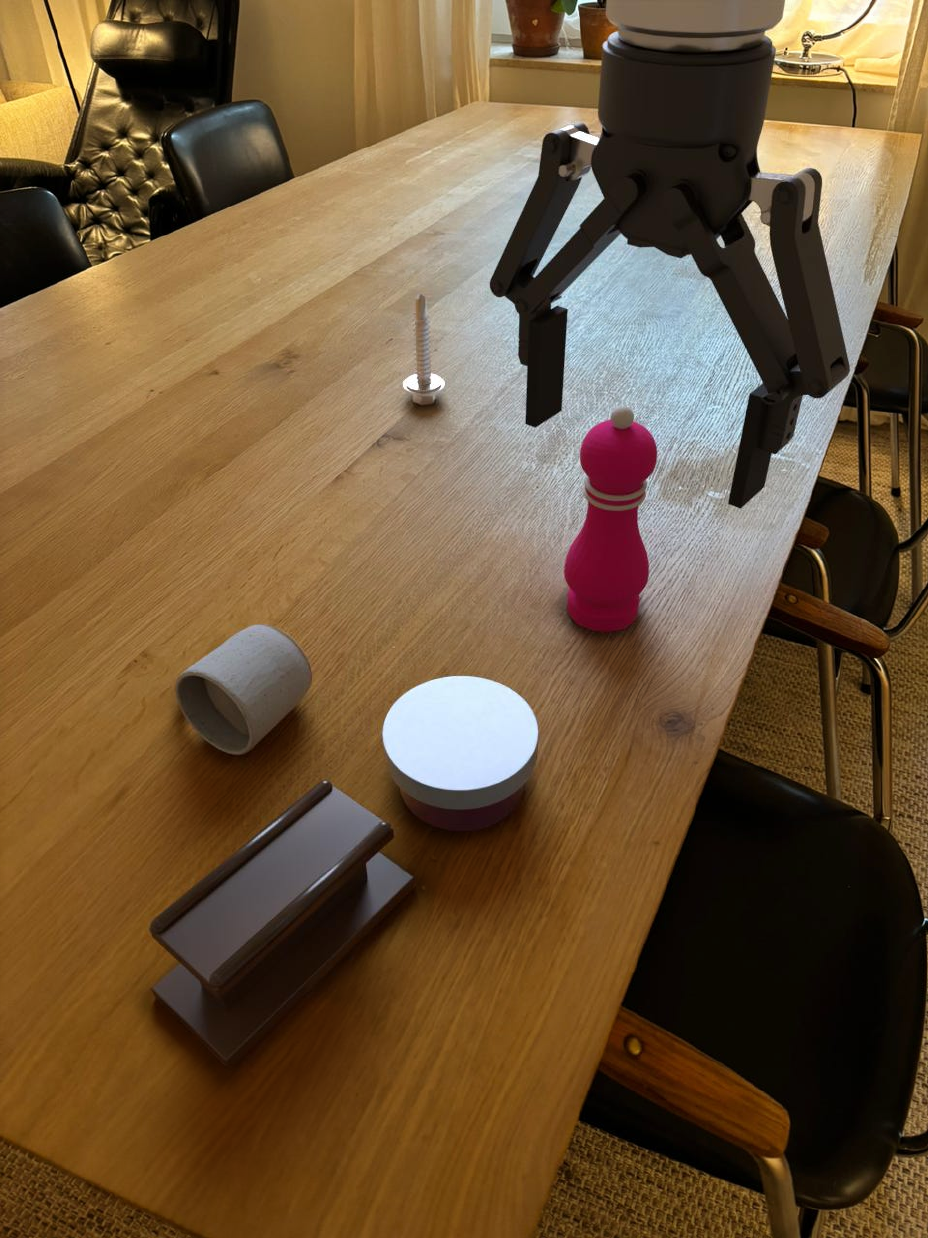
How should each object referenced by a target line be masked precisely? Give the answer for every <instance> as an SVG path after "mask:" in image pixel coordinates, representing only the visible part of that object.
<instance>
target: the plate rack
mask: <svg viewBox="0 0 928 1238" xmlns="http://www.w3.org/2000/svg"><path fill="white" fill-rule="evenodd" d="M394 838H395V832H394V827H392V825H391V824H390V823H389V822H388V821H385V820H383V819H382V818H379V817H378V816H376V815H375V814H374V813H373V812H371V811H369V810H368V809H367V808H366V807H364V806H363V805H361V804H360V803H358V802H357V801H355V800H354V799H353V798H351V797H350V796H348V795H347V794H346V793H344V792H343V791H341V790H340V789H338V788H337V787H335V786H334V785H333V783H332V782H331V781H330V780H327V779H324V780H321V781H319V782H318V783H317V784H315V785H314V786H313V787H312V788H310V789H309V790H308V791H307V792H306V793H304V794H303V795H302V796H300V798H299V799H297V800H296V801H295V802H294V803H293V804H291V805H289V806H288V808H287V809H285V810H284V811H283V812H282V813H280V814H279V815H278V816H277V817H275V818H274V819H273V820H272V821H271V822H269V823H268V824H267V825H266V826H265V827H263V828H262V829H261V830H260V831H258V832H257V833H256V834H255V835H253V837H251V838H250V839H248V841H247V842H246V843H244V844H243V845H241V846H240V847H239V848H238V849H237V850H235V851H234V852H233V853H232V854H230V856H229V857H227V858H226V859H225V860H223V862H221V863H219V865H218V866H216V867H215V868H214V869H213V870H211V872H209V873H207V874H206V875H205V876H204V877H203V878H201V880H199V881H198V882H196V884H195V885H193V886H192V887H191V888H190V889H188V890H187V891H186V892H184V894H182V895H181V896H180V897H179V898H178V899H177V900H175V901H174V902H172V903H171V904H170V905H169V906H168V907H167V908H166V909H164V910H163V911H161V912H160V913H159V914H158V915H157V916H155V917H154V919H152V920H151V923H150V927H149V928H148V929H149V932H150V934H151V937H152V939H154V940H155V941H156V942H157V943H158V944H159V945H160V946H161V947H162V948H163V949H164V950H166V952H168V953H169V955H171V956H172V957H173V958H174V959H175V960H176V961H177V962H178V964H177V965H175V966H174V967H173V968H172V969H171V970H170V971H169V972H168V973H167V974H165V975H164V976H163V977H162V978H161V979H159V981H157V982H156V983H155V984H154V985H153V986H152V987H151V992H152V994H153V997H154V998H155V1000H156V1001H157V1002H158V1003H159V1004H160V1005H161V1006H162V1007H164V1009H165V1010H166V1011H167V1012H168V1013H169V1014H171V1016H172V1017H174V1019H175V1020H177V1021H178V1022H179V1023H180V1024H181V1025H182V1026H183V1027H184V1029H186V1031H188V1032H189V1033H190V1034H191V1035H192V1036H193V1037H194V1038H195V1040H197V1041H198V1042H199V1043H200V1044H201V1045H202V1046H203V1047H204V1048H205V1049H206V1050H207V1051H208V1052H209V1053H210V1054H211V1055H212V1056H214V1058H215V1059H216V1060H217V1061H219V1062H220V1063H221V1064H222V1066H223V1067H225V1068H226V1069H227V1070H228V1071H229V1070H231V1069H232V1068H233V1067H234V1066H235V1065H236V1064H237V1063H238V1062H239V1061H240V1060H241V1059H242V1058H243V1057H245V1056H246V1054H248V1052H250V1050H251V1049H252V1048H253V1047H255V1046H256V1045H257V1043H259V1041H261V1039H263V1038H264V1037H265V1036H266V1035H267V1033H269V1032H270V1031H271V1030H272V1029H273V1028H274V1027H275V1026H276V1025H277V1024H278V1023H279V1022H280V1021H281V1020H282V1019H283V1018H284V1017H285V1016H286V1015H288V1013H289V1012H290V1011H291V1010H292V1009H293V1008H294V1007H295V1006H297V1004H298V1003H299V1002H300V1001H301V1000H302V999H303V998H304V997H305V996H306V995H307V994H308V993H309V992H311V990H312V989H313V988H315V986H316V985H318V983H319V982H320V981H322V979H323V978H325V977H326V975H327V974H329V972H331V971H332V970H333V969H334V968H335V967H336V966H337V965H338V964H339V963H340V962H341V961H342V960H343V959H344V958H345V957H346V956H347V955H348V954H349V953H350V952H351V951H352V950H353V949H354V948H355V947H356V946H357V945H358V944H359V943H360V942H361V941H362V940H363V939H364V938H365V937H366V936H367V935H368V934H369V933H370V932H371V931H372V930H374V928H375V927H377V925H378V924H379V923H380V922H381V921H382V920H383V919H384V918H385V917H386V916H388V915H389V913H390V912H391V911H393V910H394V909H395V907H397V906H398V904H399V903H401V902H402V901H403V900H404V899H405V897H407V896H408V895H409V894H410V893H411V892H412V891H413V890H414V889H415V877H414V875H412V874H411V873H409V872H408V871H406V870H405V869H403V868H402V867H401V866H399V865H398V864H397V863H395V862H394V861H393V860H391V859H389V857H387V856H386V855H384V854H383V853H382V852H381V850H383V849H384V848H385V847H386V846H387V845H388V844H389V843H390V842H391V841H393V840H394Z"/></svg>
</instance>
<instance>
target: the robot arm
mask: <svg viewBox="0 0 928 1238" xmlns="http://www.w3.org/2000/svg"><path fill="white" fill-rule="evenodd" d="M785 3H786V0H606V3H605V17H606V18H607V19H608V21H609V23H610V24H612V25H613V26H616V27H617V30H616V31H614V32H613V33H611V34H609V36H608V38H607V40H606V41H604V42H603V43H602V48H601V49H602V50H601V61H600V62H601V63H600V75H599V77H600V78H599V88H598V89H599V90H598V91H599V92H598V103H597V118H598V121H599V124H600V125H601V132H600V135H599V137H597V136H594V135H591V134H590V130H589V127H588V126H587V125H586V124H585V123H584V122H580V121H577V122H574V123H572V124H569V125H566V126H564V127H561V128H559V129H556V130H553V131H550V132H548V133H546V134H545V135H544V137H543V140H542V144H541V151H540V159H539V166H538V167H539V168H538V175H537V177H536V180H535V181H534V185H533V186H532V189H531V191H530V193H529V195H528V197H527V200H526V202H525V204H524V205H523V208H522V210H521V213H520V215H519V217H518V219H517V221H516V224H515V226H514V228H513V230H512V232H511V234H510V236H509V238H508V241H507V243H506V245H505V247H504V249H503V251H502V253H501V256H500V258H499V260H498V262H497V265H496V267H495V269H494V271H493V273H492V275H491V277H490V280H489V289H490V292H491V293H492V294H493V296H495V297H496V298H502V297H505V298H506V299H507V300H509V301H510V302H511V303H512V304H513V305H514V309H515V311H516V312H517V314H518V347H517V349H518V350H517V356H518V360H519V363H520V365H522V366H525V367H526V368H527V369H526V393H525V420H524V421H525V423H524V424H525V425H527V426H530V427H531V428H534V429H537V427H539V426H541V425H543V424H544V423H545V422H547V421H548V420H550V419H551V418H553V417H555V416H556V415H557V414H559V413H560V412H562V410H563V395H564V394H563V393H564V377H565V363H566V362H565V361H566V346H567V344H566V343H567V328H568V314H569V309H568V308H566V307H563V306H560V305H556V306H554V307H552V304H553V303H555V302H556V301H557V300H560V299H562V298H563V297H562V294H563V293H564V292H565V291H566V290H567V289H568V288H569V287H570V286H571V285H572V284H573V283H574V282H575V281H576V280H577V279H578V278H579V277H580V276H581V275H582V274H583V273H584V272H585V271H586V270H587V268H589V267H590V266H591V265H592V264H593V263H594V262H595V261H596V260H597V259H598V257H600V256H601V254H603V252H604V251H606V249H607V248H608V247H609V246H610V245H611V244H612V243H613V242H614V241H615V240H616V239H617V238H618V237H619V236H620V235H622V236H623V237H624V238H625V239H626V240H627V241H626V245H627V246H632V247H637V248H641V249H643V248H655V249H657V250H659V251H660V252H662V253H664V254H665V255H666V256H671V257H674V258H678V259H683V258H685V257H687V256H689V255H691V257H692V259H693V261H694V263H695V265H696V267H697V269H698V271H699V272H700V273H701V275H702V276H704V277H706V278H708V279H709V280H710V281H711V283H712V285H713V287H714V289H715V291H716V293H717V294H718V297H719V299H720V301H721V303H722V305H723V306H724V309H725V311H726V313H727V315H728V316H729V319H730V320H731V323H732V324H733V326H734V329H735V330H736V332H737V334H738V336H739V338H740V340H741V342H742V344H743V346H744V348H745V350H746V352H747V354H748V356H749V358H750V360H751V362H752V364H753V366H754V368H755V370H756V372H757V373H758V375H759V378H760V380H761V382H762V383H761V384H759V386H757V387H756V388H754V389H753V390H752V391H751V392H750V393H749V394H748V399H747V405H746V409H745V414H744V420H743V425H742V431H741V435H740V439H739V446H738V449H737V450H738V451H737V455H736V461H735V465H734V466H735V467H734V469H733V470H734V471H733V476H732V480H731V481H732V482H731V486H730V490H729V496H728V502H727V504H728V505H730V506H733V507H735V508H737V509H740V510H741V509H742V508H743V507H744V506H745V505H747V504H748V503H749V502H750V501H751V500H752V499H753V498H755V497H756V496H757V494H759V493H760V492H761V491H762V490H763V489H764V488H765V485H766V482H767V477H768V472H769V468H770V463H771V459H772V455H777V454H778V453H779V452H780V451H781V450H782V449H783V448H785V447H786V446H787V445H788V444H789V442H790V441H791V440H792V439H793V438H794V436H795V431H796V426H797V422H798V418H799V414H800V410H801V405H802V401H803V398H804V396H809V397H810V398H812V399H822V398H824V397H826V395H827V394H829V393H830V392H831V391H832V390H834V388H836V387H837V386H838V385H839V384H840V383H842V381H844V380H845V379H846V378H847V377H848V376H849V374H850V371H851V366H850V362H849V361H850V360H849V357H848V352H847V347H846V343H845V339H844V334H843V329H842V325H841V321H840V316H839V310H838V307H837V303H836V297H835V293H834V289H833V284H832V279H831V276H830V270H829V265H828V262H827V257H826V252H825V248H824V243H823V238H822V234H821V229H820V225H819V217H820V209H821V208H820V207H821V199H822V198H821V197H822V190H823V177H822V174H821V172H819V171H818V170H817V169H816V168H813V167H808V168H804V169H802V170H800V171H798V172H797V173H795V174H787V173H774V172H763V171H761V168H760V165H759V161H758V145H759V141H760V137H761V134H762V130H763V127H764V122H765V117H766V112H767V106H768V100H769V95H770V88H771V83H772V76H773V70H774V64H775V58H776V53H777V48H776V46H774V45H773V41H772V39H771V38H770V37H769V36H767V35H765V34H766V32H767V31H770V30H772V29H774V28H775V27H776V26H777V25H778V24H779V23H781V21H782V19H783V17H784V10H785V5H786V4H785ZM591 171H592V174H593V177H594V179H595V181H596V183H597V186H598V188H599V191H600V192H601V194H602V197H603V199H602V200H601V201H600V202H599V203H598V204H597V206H596V207H595V208H594V209H592V211H591V212H590V213H589V215H588V216H586V218H585V219H584V220H583V221H582V222H581V223H580V224H579V229H578V230H577V231H576V232H575V233H574V234H573V235H572V236H571V238H569V240H568V241H567V242H566V243H565V244H564V245H563V246H562V248H560V250H559V251H557V253H556V254H555V255H554V256H553V257H552V258H551V259H550V260H549V261H548V263H547V264H546V265H545V266H543V268H542V269H541V270H540V271H539V272H538V273H537V274H536V276H535V273H536V272H537V270H538V267H539V265H540V264H541V261H542V260H543V258H544V256H545V253H546V252H547V250H548V248H549V246H550V244H551V242H552V240H553V238H554V236H555V234H556V232H557V230H558V228H559V226H560V224H561V222H562V220H563V218H564V216H565V214H566V212H567V210H568V208H569V206H570V204H571V203H572V200H573V198H574V196H575V194H576V192H577V190H578V188H579V186H580V184H581V181H582V179H583V177H584V176H587V175H588V174H589V173H590V172H591ZM752 203H755V204H756V205H757V206H758V208H759V210H760V217H759V219H760V222H761V223H762V224H763V225H766V226H768V228H769V244H770V250H771V255H772V256H771V257H772V261H773V264H774V268H775V272H776V276H777V280H778V285H779V288H780V294H781V297H782V301H783V302H782V303H783V305H784V309H785V311H784V309H783V307H782V305H781V303H780V300H779V299H778V297H777V294H776V293H775V290H774V289H773V287H772V285H771V283H770V280H769V278H768V276H767V274H766V273H765V271H764V268H763V266H762V264H761V262H760V260H759V258H758V256H757V254H756V250H755V249H756V240H755V238H754V236H753V234H752V231H751V229H750V228H749V227H750V226H749V225H748V223H747V221H746V219H745V217H744V215H743V212H745V210H747V208H748V207H749V206H750V205H751V204H752ZM720 237H721V239H722V241H723V244H724V246H723V247H722V246H721V245H720V243H719V242H718V239H719V238H720ZM534 276H535V277H534Z"/></svg>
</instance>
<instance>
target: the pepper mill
mask: <svg viewBox="0 0 928 1238" xmlns="http://www.w3.org/2000/svg"><path fill="white" fill-rule="evenodd" d="M634 420H635V414H634V412H633V410H632V409H631V408H630V407H629V406H627V405H619V406H616V407H615V408H613V410H612V412H611V413H610V419H607V420H603V421H601V422H599V423H597V424H595V425H594V426H593V427H592V428H590V429H589V430H588V432H587V433H586V434H585V436H584V438H583V440H582V442H581V446H580V451H579V462H580V463H579V464H580V466H581V469H582V471H583V472H584V474H585V476H584V478H583V479H584V480H583V485H584V486H583V490H582V493H583V496H584V498H585V499H586V501H587V510H586V514H585V515H586V516H585V518H584V523H583V525H582V527H581V529H580V531H579V533H578V534H577V535H576V537H575V539H574V540H573V542H572V543H571V545H569V549H568V551H567V554H566V556H565V561H564V567H563V576H564V581H565V582H566V585H567V586H568V587H569V588H568V591H567V601H566V610H567V613H568V615H569V616H570V618H571V619H572V620H573V621H574V622H575V623H576V624H578V626H580V627H583V628H585V629H587V630H590V631H595V632H600V633H601V632H603V633H609V632H610V633H611V632H617V631H620V630H623V629H626V628H627V627H629V626H630V625H631V624H632V623H634V622H635V621H636V618H637V617H638V614H639V607H640V601H641V599H640V594H641V593H642V592H643V591H644V589H645V588H646V586H647V584H648V581H649V575H650V574H649V573H650V563H649V558H648V552H647V549H646V546H645V544H644V541H643V539H642V536H641V533H640V529H639V522H638V520H639V519H638V517H639V516H638V515H639V513H638V512H639V506H641V504H643V502H644V501H645V499H646V497H647V496H646V495H647V491H646V490H647V487H648V480H647V479H648V478H649V477H650V476H651V475H652V474H653V473H654V470H655V469H656V466H657V462H658V447H657V443H656V440H655V438H654V436H653V434H652V433H651V432H650V431H649V430H648V428H646V427H645V426H644V425H643V424H641V423H638V422H637V421H634Z"/></svg>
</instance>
